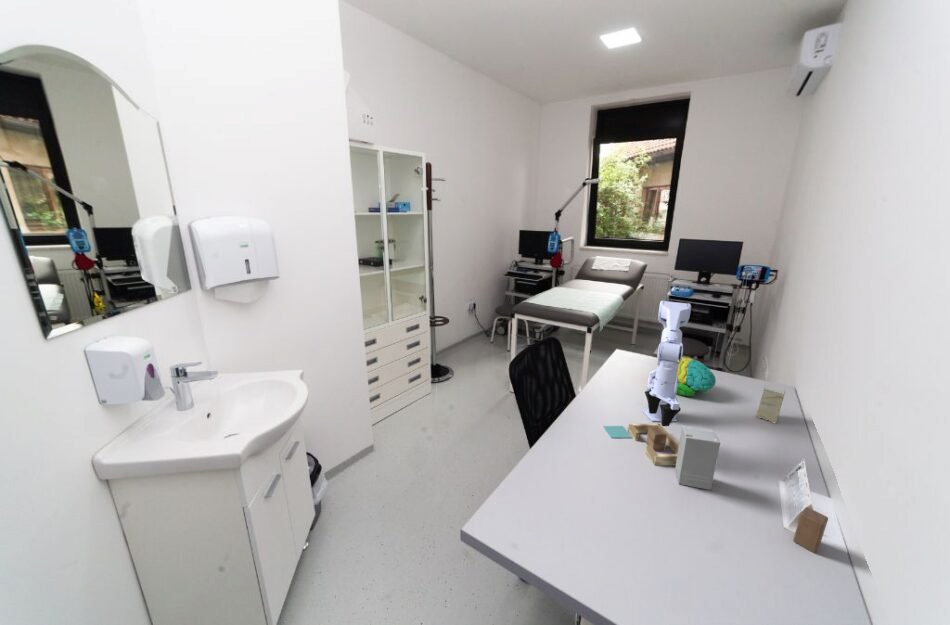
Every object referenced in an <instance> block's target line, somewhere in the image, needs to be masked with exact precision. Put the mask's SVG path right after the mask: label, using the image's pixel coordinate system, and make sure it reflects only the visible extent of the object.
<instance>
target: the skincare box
mask: <svg viewBox="0 0 950 625" xmlns="http://www.w3.org/2000/svg"><path fill="white" fill-rule="evenodd" d="M678 443H679V448H678V455H677V461H676V465H675V468H674V472H675V474H676V475H675V476H676V479H677V483H678V485H682V486H687V487H693V488H699V489H704V490H707V491H711V489H712V486H713V480H714V475H715V470H716V467H717V461H718V455H719V450H720V446H721V442H720V440H719V437H718V436H717V433H716V432H715V430H714V429H711V428H703V427H698V426H697V427H696V426H690V425H684V424H682V426H681V432H680V436H679V442H678Z"/></svg>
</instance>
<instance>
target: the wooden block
mask: <svg viewBox="0 0 950 625" xmlns="http://www.w3.org/2000/svg"><path fill="white" fill-rule="evenodd" d="M828 521H829V517H828V516H826V515H824V514H822V513H820V512H819V511H816V510H814V509H812V508H810V507H808V506H805V507H804V509H803V511H802V512H801V513H800V516H799V520H798V523H797V526H796V529H795V533H794V536H793V542H794V543H796V544H798V545H799V546H800V547H803V548H804V549H806V550H808V551H810V552H811V553H813V554H814V553H816V552H817V551H818V549H819V547H820V545H821V542H822V540H823V537H824V534H825V530H826V527H827V525H828V523H829V522H828Z"/></svg>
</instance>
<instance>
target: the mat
mask: <svg viewBox="0 0 950 625" xmlns="http://www.w3.org/2000/svg"><path fill="white" fill-rule="evenodd" d="M603 428H604V430H605V432H606V433H607V434H608V436H609V437H610V438H611V439H633V437H632V436H631V435H630V434H629V432H628V430H626V429H625V427H624V426H623V425H603Z"/></svg>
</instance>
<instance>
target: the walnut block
mask: <svg viewBox="0 0 950 625" xmlns="http://www.w3.org/2000/svg"><path fill="white" fill-rule="evenodd" d="M646 434H647V435H646V442H645V443H646V446H651V447H652V448H653V450H654V451H655V452H664V451H665V450H666V449H665V448H666V444H667V443H666V439H667V434H666V433H665V432H664V431H663V430H662V429H661V428H660V427H651V428H648V433H646Z"/></svg>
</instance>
